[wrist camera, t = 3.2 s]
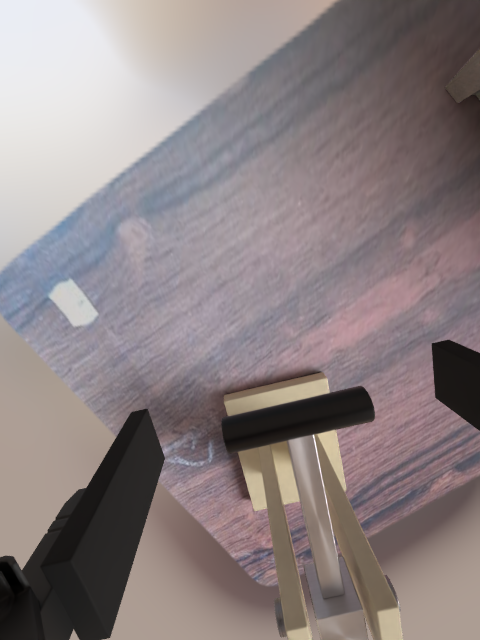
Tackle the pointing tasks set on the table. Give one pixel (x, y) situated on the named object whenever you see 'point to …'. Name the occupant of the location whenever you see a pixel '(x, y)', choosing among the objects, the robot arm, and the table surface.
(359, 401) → the lever
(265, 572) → the table surface
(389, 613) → the bracket
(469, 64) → the building
